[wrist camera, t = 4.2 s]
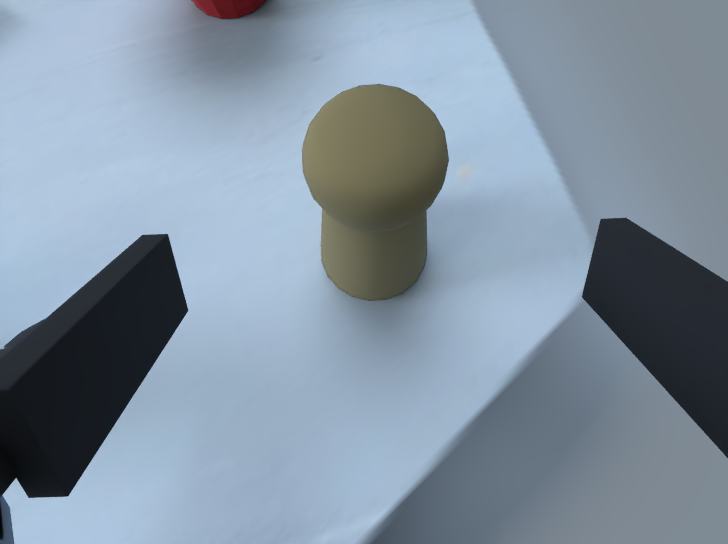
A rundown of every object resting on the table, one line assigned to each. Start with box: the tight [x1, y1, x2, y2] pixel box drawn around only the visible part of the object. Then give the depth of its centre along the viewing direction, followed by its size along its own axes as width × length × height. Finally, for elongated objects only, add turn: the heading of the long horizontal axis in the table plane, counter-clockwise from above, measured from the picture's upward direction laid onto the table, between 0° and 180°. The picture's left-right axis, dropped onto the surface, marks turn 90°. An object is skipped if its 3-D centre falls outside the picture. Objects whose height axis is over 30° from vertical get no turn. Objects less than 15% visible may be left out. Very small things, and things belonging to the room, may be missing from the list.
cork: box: [302, 84, 449, 301], centre depth 19 cm, size 6×6×11 cm
